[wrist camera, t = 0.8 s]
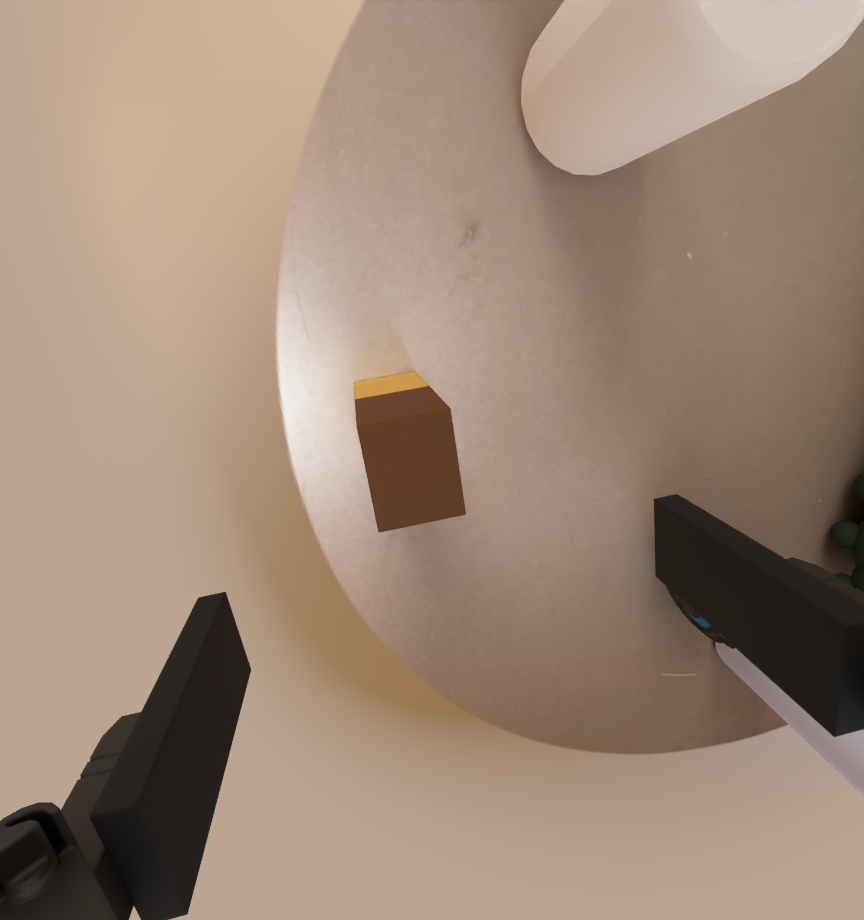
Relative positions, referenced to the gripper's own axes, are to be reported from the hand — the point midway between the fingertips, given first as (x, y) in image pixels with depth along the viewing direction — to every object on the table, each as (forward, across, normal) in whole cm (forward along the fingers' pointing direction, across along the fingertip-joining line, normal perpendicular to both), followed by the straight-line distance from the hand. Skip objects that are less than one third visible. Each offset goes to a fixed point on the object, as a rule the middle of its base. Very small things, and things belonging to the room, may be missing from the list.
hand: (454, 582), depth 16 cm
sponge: (+20, 0, +1) cm, 20 cm away
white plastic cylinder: (+20, +14, +17) cm, 30 cm away
